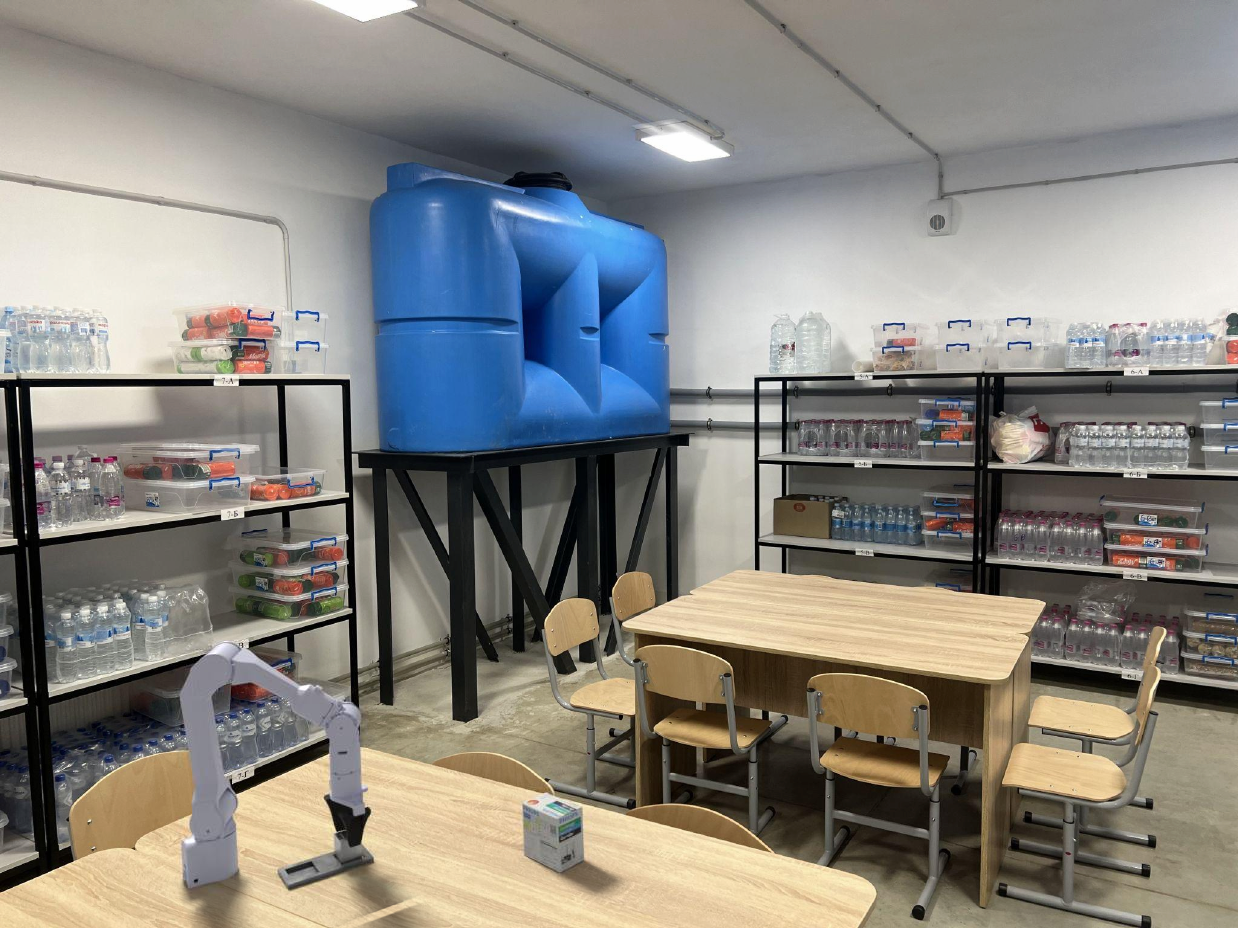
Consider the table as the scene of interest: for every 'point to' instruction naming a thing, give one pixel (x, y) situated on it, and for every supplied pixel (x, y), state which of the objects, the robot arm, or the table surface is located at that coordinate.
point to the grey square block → (345, 849)
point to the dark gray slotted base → (319, 868)
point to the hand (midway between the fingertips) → (348, 837)
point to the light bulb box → (553, 831)
